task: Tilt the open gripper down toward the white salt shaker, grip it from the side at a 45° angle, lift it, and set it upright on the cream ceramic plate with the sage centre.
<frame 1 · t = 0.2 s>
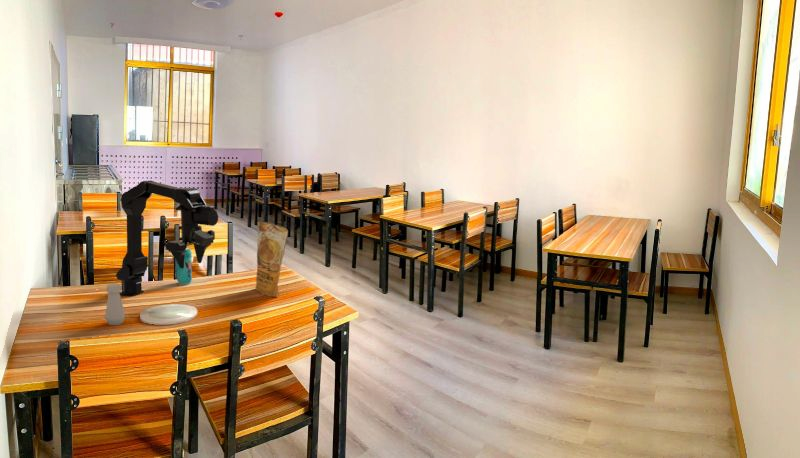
hand: (191, 265, 192), 15 cm above the table, tool pointing down, fingers open, 9 cm apart
salt shaker: (115, 323, 172), on the table
beverage can: (184, 283, 220), on the table
dish: (169, 315, 181), on the table
pancake mix bag: (268, 292, 213), on the table
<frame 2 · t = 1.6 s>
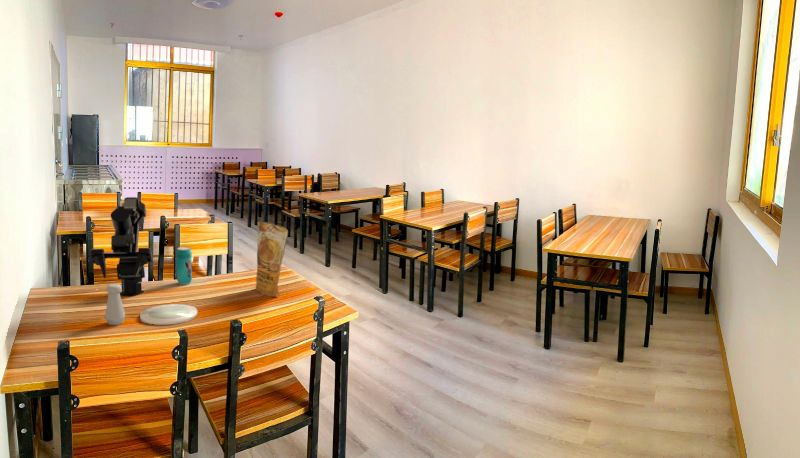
hand: (119, 277, 177), 13 cm above the table, tool tilted 45°, fingers open, 9 cm apart
nothing on the table moved.
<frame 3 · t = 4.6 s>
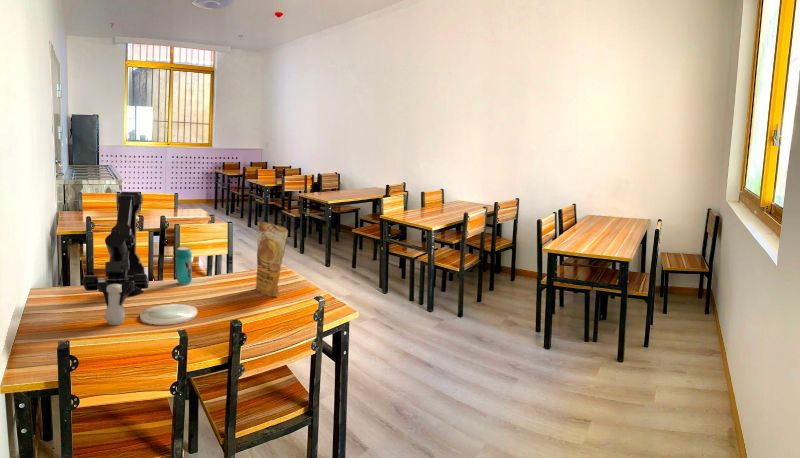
hand: (113, 305, 169), 7 cm above the table, tool tilted 45°, fingers closed on salt shaker, 3 cm apart
salt shaker: (115, 323, 172), on the table, touching gripper
everything else where it was.
when the fingers open (9 cm above the table, at t = 8.5 s): salt shaker drops 1 cm, resting on dish.
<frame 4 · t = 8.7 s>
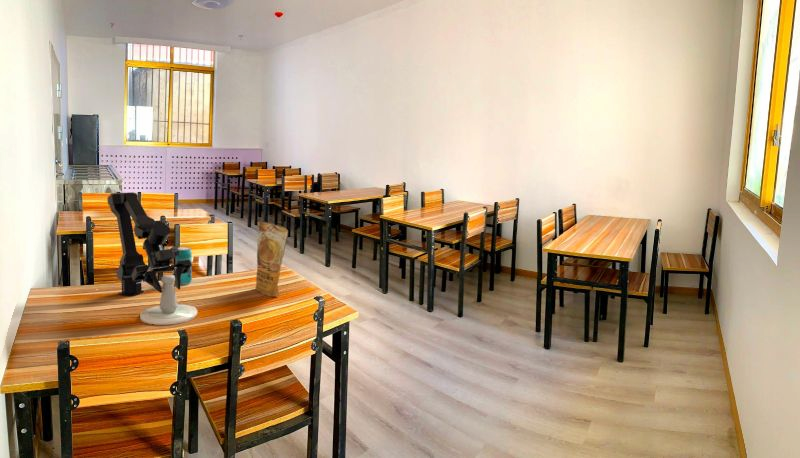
hand: (170, 290, 179), 9 cm above the table, tool tilted 45°, fingers open, 6 cm apart
salt shaker: (168, 312, 181), point 1 cm above the table, touching dish
everything else where it was.
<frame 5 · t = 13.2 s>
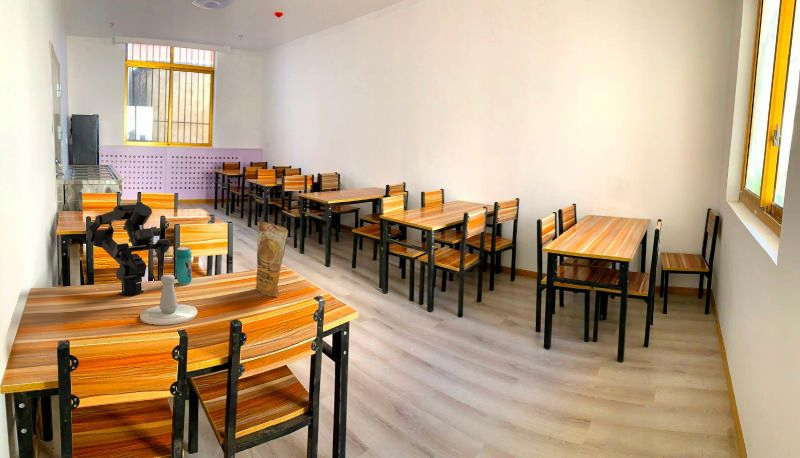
hand: (149, 267, 190), 14 cm above the table, tool tilted 45°, fingers open, 9 cm apart
nothing on the table moved.
at the end: salt shaker inside the target area on the dish (0.3 cm from its centre), point 1.1 cm above the dish's base; salt shaker tilted 0°; the gripper is holding nothing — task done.
